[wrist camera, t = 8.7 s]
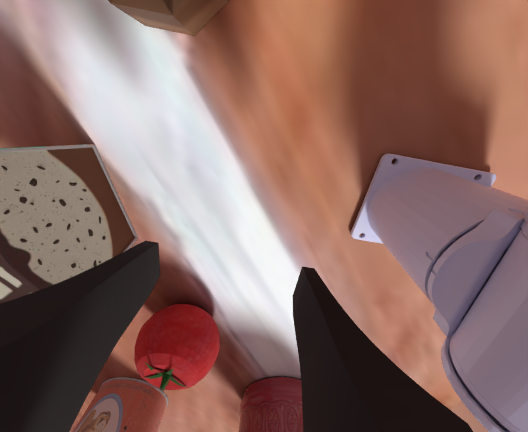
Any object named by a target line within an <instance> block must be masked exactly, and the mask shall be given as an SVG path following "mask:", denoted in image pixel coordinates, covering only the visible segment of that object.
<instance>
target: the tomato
mask: <svg viewBox="0 0 528 432" xmlns="http://www.w3.org/2000/svg"><path fill="white" fill-rule="evenodd" d="M219 349H220V338H219V331H218V328H217V325H216V323H215V321H214V319H213V318H212V317H211V316H210V314H208V313H207V312H206V311H204V310H203V309H201V308H199V307H197V306H194V305H189V304H175V305H170V306H168V307H166V308H164V309H162V310H160V311H158V312H156V313H155V314H153V315H152V316H151V318H150V319H149V320H148V321H147V322H146V323H145V324H144V325H143V326H142V328H141V330H140V332H139V334H138V337H137V340H136V344H135V364H136V368H137V371H138V373H139V374H140V376H139V377H142V378H143V379H145V380H146V381H147V382H149V383H150V384H152V385H154V386H156V387H158V388H160V390H162V389H163V390H164V389H166V390H180V389H186V388H189V387H192V386H194V385H195V384H196V383H198V382H199V381H200V380H201V379H203V378H204V377H205V375H206V374H207V373H208V372H209V371H210V369H211V368H212V366H213V364H214V362H215V361H216V359H217V356H218V353H219Z"/></svg>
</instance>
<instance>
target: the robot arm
mask: <svg viewBox="0 0 528 432" xmlns="http://www.w3.org/2000/svg"><path fill="white" fill-rule="evenodd" d="M394 158H396V161H395V163H393V164H392V163H391V162H392V160H393V159H394ZM476 175H477V177H476V178H475V176H476ZM474 178H475V179H474ZM495 179H496V175H495V174H493V173H490V172H485V171H480V170H475V169H469V168H464V167H459V166H453V165H448V164H443V163H438V162H432V161H427V160H422V159H417V158H411V157H406V156H401V155H395V154H390V153H387V154H384V155H383V156H382V158H381V159H380V162H379V164H378V167H377V169H376V172H375V174H374V177H373V179H372V181H371V184H370V186H369V189H368V191H367V194H366V196H365V198H364V201H363V203H362V206H361V208H360V211H359V213H358V216H357V218H356V220H355V223H354V225H353V228H352V230H351V236H352V237H353V238H354V239H359V240H364V241H370V242H376V243H382V244H384V245H385V246H386V247H387V249H388V250H389V251H390V252H391V253H392V255H393V256H394V257H395V258H396V260H397V261H398V262H399V263H400V264H401V266H402V267H403V268H404V269H405V271H406V272H407V273H408V274H409V276H410V277H411V278H412V279H413V280H414V282H415V283H416V284H417V285H418V287H419V288H420V289H421V290H422V291H423V293H424V294H425V295H426V296H427V298H428V299H429V300H430V301H431V303H432V304H433V306H434V308H435V314H434V316H433V319H434V320H435V322H436V323H437V324H438V326H439V327H440V328H441V330H442V331H443V332H444V334H445V335H446V336H447V338H446V340H445V341H444V343H443V346H442V349H441V359H442V364H443V368H444V370H445V373H446V375H447V378H448V380H449V381H450V383H451V385H452V387H453V389H454V390H455V392H456V393H457V395H458V396H459V398H460V399H461V401H462V402H463V403H464V404H465V406H466V407H467V408H468V409H469V410H470V412H471V413H472V414H473V415H474V417H475V418H476V419H478V421H479V422H480V423H481V424H482V425H483V426H484V427H485V428H486V429H487V430H488V431H489V432H528V200H526V199H523V198H520V197H517V196H514V195H512V194H509V193H506V192H503V191H500V190H498V189H495V188H492V187H491V186H492V184H493V183H494V181H495ZM361 233H364V234H363V235H362V236H359V235H360V234H361ZM159 276H160V265H159V246H158V243H156V242H150V241H144V242H142V243H140V244H138V245H136V246H134V247H132V248H130V249H128V250H126V251H125V252H123V253H121V254H119V255H117V256H115V257H113V258H111V259H109V260H107V261H105V262H103V263H101V264H99V265H97V266H95V267H93V268H90V269H88V270H86V271H84V272H82V273H80V274H78V275H76V276H73V277H71V278H69V279H66V280H64V281H62V282H59V283H57V284H54V285H52V286H49V287H46V288H44V289H41V290H39V291H36V292H33V293H30V294H27V295H24V296H22V297H19V298H16V299H13V300H10V301H7V302H4V303H1V304H0V432H69V431H70V429H71V427H72V425H73V423H74V421H75V419H76V417H77V415H78V413H79V411H80V409H81V407H82V405H83V403H84V401H85V399H86V397H87V395H88V394H89V392H90V390H91V388H92V386H93V384H94V382H95V381H96V379H97V377H98V375H99V373H100V371H101V369H102V368H103V366H104V364H105V362H106V361H107V359H108V357H109V355H110V354H111V352H112V350H113V348H114V347H115V345H116V344H117V342H118V340H119V339H120V337H121V336H122V334H123V333H124V331H125V330H126V329H127V327H128V326H129V324H130V323H131V321H132V320H133V318H134V317H135V316H136V314H137V313H138V311H139V310H140V308H141V307H142V305H143V304H144V302H145V301H146V299H147V298H148V296H149V295H150V293H151V292H152V290H153V288H154V286H155V284H156V282H157V280H158V278H159ZM293 318H294V325H295V333H296V340H297V347H298V354H299V361H300V370H301V386H302V409H303V432H473V431H472V429H471V428H470V426H469V425H468V423H466V422H465V421H464V420H462V419H461V418H460V417H458V416H457V415H456V414H455V413H453V412H452V411H451V410H449V409H448V408H447V407H446V406H444V405H443V404H442V403H440V402H439V401H438V400H436V399H435V398H434V397H433V396H431V395H430V394H429V393H428V392H426V391H425V390H424V389H423V388H422V387H420V386H419V385H418V384H417V383H416V382H415V381H413V380H412V379H411V378H410V377H409V376H407V375H406V374H405V373H404V372H403V371H402V370H401V369H400V368H398V367H397V366H396V365H395V364H394V363H393V362H392V361H391V360H390V359H389V358H388V357H387V356H386V355H385V354H384V353H382V352H381V351H380V350H379V349H378V348H377V347H376V346H375V345H374V344H373V343H372V342H371V340H370V339H369V338H368V337H367V336H366V335H365V334H364V333H363V332H362V331H361V330H360V329H359V328H358V326H357V325H356V324H355V323H354V322H353V321H352V319H351V318H350V317H349V316H348V314H347V313H346V312H345V311H344V310H343V308H342V307H341V306H340V304H339V303H338V302H337V300H336V299H335V298H334V296H333V295H332V294H331V292H330V291H329V289H328V288H327V286H326V285H325V284H324V282H323V281H322V279H321V278H320V276H319V275H318V273H317V272H316V270H315V269H314V268H308V267H302V269H301V272H300V275H299V278H298V282H297V285H296V288H295V291H294V294H293Z"/></svg>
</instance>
